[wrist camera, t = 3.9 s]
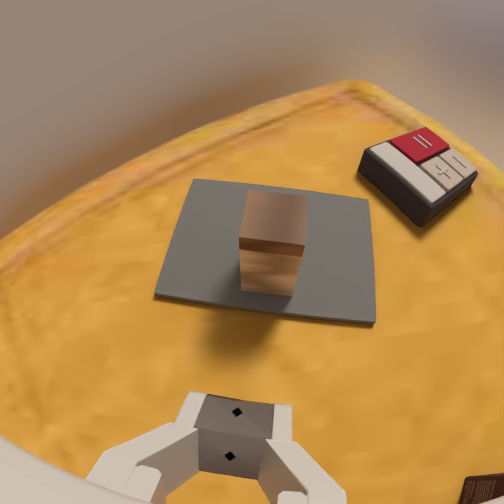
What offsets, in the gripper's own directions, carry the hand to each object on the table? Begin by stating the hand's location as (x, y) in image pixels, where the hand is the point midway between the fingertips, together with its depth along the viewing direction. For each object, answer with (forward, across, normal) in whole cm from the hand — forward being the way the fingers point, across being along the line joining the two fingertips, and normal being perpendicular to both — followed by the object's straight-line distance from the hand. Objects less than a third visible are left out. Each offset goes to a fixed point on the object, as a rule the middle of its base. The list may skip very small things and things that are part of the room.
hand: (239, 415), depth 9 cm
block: (+21, 0, +1) cm, 21 cm away
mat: (+24, 0, -1) cm, 24 cm away
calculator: (+35, -18, -10) cm, 40 cm away
